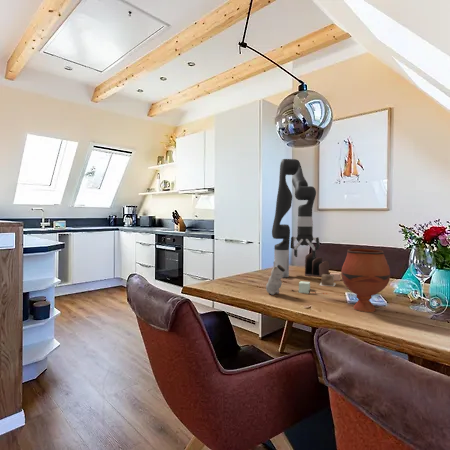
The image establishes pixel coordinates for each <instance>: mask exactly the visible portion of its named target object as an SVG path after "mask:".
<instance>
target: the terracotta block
mask: <svg viewBox="0 0 450 450" xmlns="http://www.w3.org/2000/svg"><path fill="white" fill-rule="evenodd" d="M329 274H332V275H334V281H337V282H338V281H341V279H342V276H341V273H339V272H329Z"/></svg>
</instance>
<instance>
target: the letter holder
mask: <svg viewBox="0 0 450 450" xmlns="http://www.w3.org/2000/svg"><path fill="white" fill-rule="evenodd" d="M304 261H305V262H304V276H306V277H315V278H322V274H330V268H329V267H330V265H329V263H330V262H329V261H328V260H324V261H323V257H321V256H319V257H318V256H317V255H316V256H315V257H314V258H312V252H310V253H308V254H306V255H305V260H304Z"/></svg>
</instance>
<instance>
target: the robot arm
mask: <svg viewBox="0 0 450 450" xmlns="http://www.w3.org/2000/svg"><path fill="white" fill-rule="evenodd" d="M302 168H303V167H302V165H301V162H300V160H298V159H295V158H283V159H281V161H280V165H279V179H278V181H279V182H278V189H277V196H276V201H275V203H276V204H275V210H274V211H275V212H274V219H273V223H272V228H271V236H272V239H275V240H281V242H279V243H277V244H274V248H273V249H274V250H273V251H274V252H273V253H274V257H273V258H274V259H273V265H272V266H273V268H274V267H277V265H281V266H282V267H283V268H284V269H285V271H284V272H283V277H282V278H289V276H290V275H289V274H290V248H291V249H292V250H293V255H294V257H295V258H297V257H298V248H299V247H300V246H306V247H307V246H310V248H311V249H312V252H311V253H312V258H314V257H315V256H316V257H317V250H319V249H320V237H317V236H316V237H314V235H313V232H314V230H313V229H314V227H313V226H314V224H313V223H314V222H313V207H314V202H315V200H316V196H317V189H316V188H315V187H314V186H309V184H308V181H307V180H306V178H305V176H304V173H303V169H302ZM287 176H292V179H291V183H292V186H293V187H294V197H295V199H296V200H297V201H306V203H305V204H301V205H298V207H297V234H296V236H291V228H290V226H289V224H281V221H282V220H283V218H284V217H285V216H286V214H288V212H289V211H290V209H291V207H292V202H293V194H292V192H291V190H290V187H289V186H288V182H287V179H286V177H287ZM295 241H297V242H298V243H296V245H295ZM313 241H314V242H315V243H316V244H315V245H314V243H313ZM273 268H272V269H273Z"/></svg>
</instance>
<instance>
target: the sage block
mask: <svg viewBox="0 0 450 450" xmlns="http://www.w3.org/2000/svg"><path fill="white" fill-rule="evenodd" d="M310 292H311V282H310V281H303V280H302V281H299V282H298V293H299V294H310Z"/></svg>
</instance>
